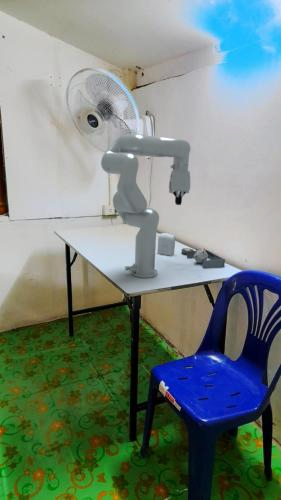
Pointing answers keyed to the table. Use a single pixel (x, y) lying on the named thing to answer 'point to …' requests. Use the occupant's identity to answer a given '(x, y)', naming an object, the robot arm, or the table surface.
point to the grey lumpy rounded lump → (200, 256)
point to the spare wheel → (184, 251)
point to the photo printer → (166, 244)
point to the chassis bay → (212, 263)
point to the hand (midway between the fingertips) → (178, 204)
